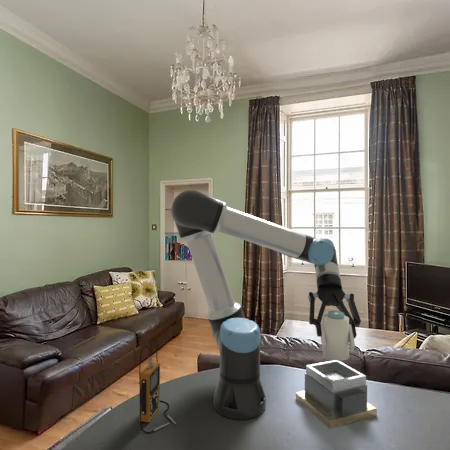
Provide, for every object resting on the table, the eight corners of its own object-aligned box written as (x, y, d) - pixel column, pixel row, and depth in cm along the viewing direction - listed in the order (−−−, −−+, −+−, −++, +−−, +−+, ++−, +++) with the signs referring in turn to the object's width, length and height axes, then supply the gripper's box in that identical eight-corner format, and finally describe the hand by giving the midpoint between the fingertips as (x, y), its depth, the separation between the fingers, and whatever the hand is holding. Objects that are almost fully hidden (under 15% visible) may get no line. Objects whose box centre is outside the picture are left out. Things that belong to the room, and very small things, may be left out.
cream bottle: (317, 352, 94) (318, 310, 94) (336, 349, 97) (337, 308, 97) (334, 362, 88) (334, 317, 88) (354, 358, 90) (354, 314, 90)
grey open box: (295, 399, 96) (296, 364, 96) (338, 389, 102) (338, 356, 102) (329, 428, 82) (330, 387, 82) (376, 415, 88) (377, 377, 88)
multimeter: (169, 437, 78) (170, 355, 78) (132, 431, 80) (132, 351, 80) (188, 404, 93) (189, 335, 93) (156, 400, 95) (156, 332, 95)
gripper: (357, 286, 106) (373, 355, 90) (296, 284, 109) (300, 351, 93) (362, 273, 101) (379, 343, 85) (297, 271, 103) (302, 339, 87)
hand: (338, 347), depth 89 cm, fingers closed on cream bottle, 7 cm apart
